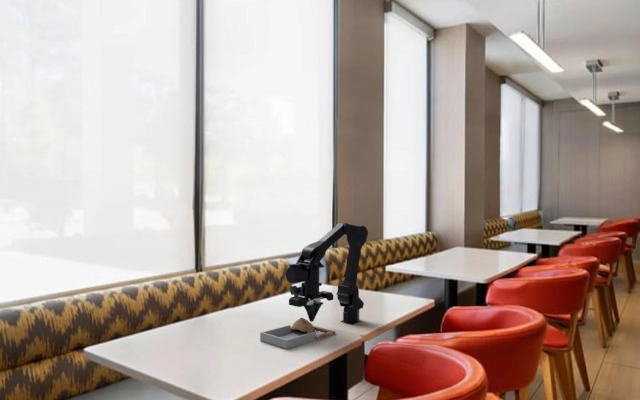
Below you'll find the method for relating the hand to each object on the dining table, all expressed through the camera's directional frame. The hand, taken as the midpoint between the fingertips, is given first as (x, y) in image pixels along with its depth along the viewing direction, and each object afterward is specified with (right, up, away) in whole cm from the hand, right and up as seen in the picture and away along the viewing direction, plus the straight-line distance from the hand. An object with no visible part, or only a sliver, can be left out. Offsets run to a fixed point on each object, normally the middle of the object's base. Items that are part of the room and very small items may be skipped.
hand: (311, 321), depth 185 cm
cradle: (-1, -5, -1) cm, 5 cm away
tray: (-8, -5, -9) cm, 13 cm away
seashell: (-1, -5, -1) cm, 5 cm away
